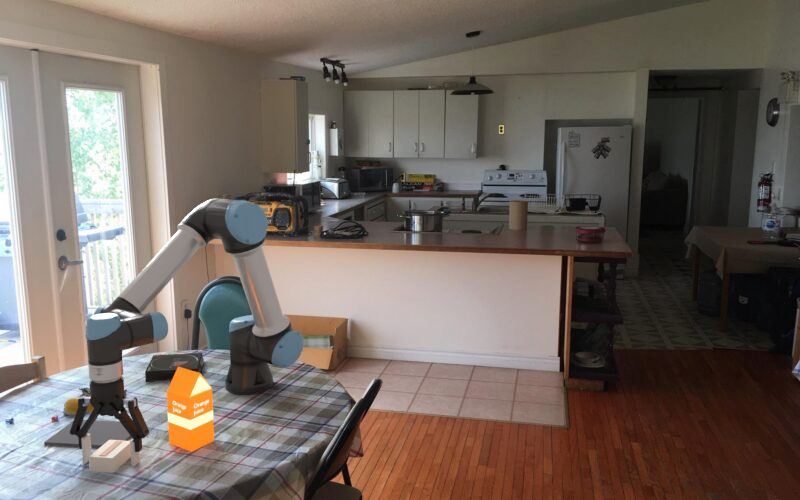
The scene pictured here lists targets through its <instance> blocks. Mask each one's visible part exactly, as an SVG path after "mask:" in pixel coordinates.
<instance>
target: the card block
mask: <svg viewBox="0 0 800 500" xmlns="http://www.w3.org/2000/svg"><path fill="white" fill-rule="evenodd" d="M130 441H131V440H128V441H123V440H108V441H107V442H106V443H105V444H103V445H102V446H101V447H100V448H96V450H95V451H94V452H92V454H91V455H90V456H89V461H88V465H89V472H95V473H96V472H97V473H109V474H111V473H112V474H113V473H115V472H116V471H117V470H118V469H119V468H121V467H122V466H123V465H124V464H125V463H126V462H128V460H129V459H131V449H130Z"/></svg>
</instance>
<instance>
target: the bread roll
mask: <svg viewBox="0 0 800 500" xmlns="http://www.w3.org/2000/svg"><path fill="white" fill-rule="evenodd" d="M78 399H79V398H75V397H74V398H69V399H67V400H66V401H65V402H64V404H63V407H64V408H63V413H64V414H65V415H66V416H75V415H76V412H77V409H78ZM93 410H94V408H93V406H92V405H91V404H89V405H88V407H87V410H86V413H85V415H86V414H91V412H92V411H93Z"/></svg>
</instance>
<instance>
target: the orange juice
mask: <svg viewBox="0 0 800 500" xmlns="http://www.w3.org/2000/svg"><path fill="white" fill-rule="evenodd" d="M170 381H171V382H170V384H169V386H168V388H167V390H166V402H167V404H166V405H167V423H168V426H167V427H168V443H169V444H171V445H174V446H175V447H178V448H181V449H183V450H186V451H188V452H194V451H196V450H198V449H200V448H202V447H204V446H206V445H208V444H210V443H211V442H214V441H215V430H214V428H215V427H214V405H213V402H214V401H213V387H212V386H211V385H210V384H209V382H208V380H206V379H205V377H204V376H203V375H202V374H201V373H198V372H195V371H191V370H188V369H184V368H181V367H178V368H177V370H176V372H175V375H174V377H173V379H172V380H170Z"/></svg>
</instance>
